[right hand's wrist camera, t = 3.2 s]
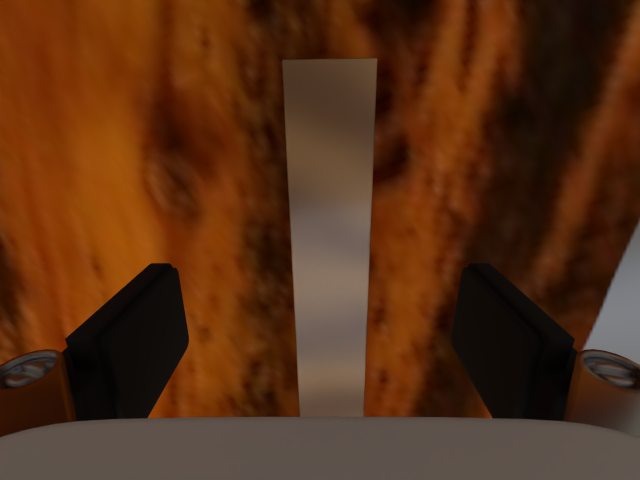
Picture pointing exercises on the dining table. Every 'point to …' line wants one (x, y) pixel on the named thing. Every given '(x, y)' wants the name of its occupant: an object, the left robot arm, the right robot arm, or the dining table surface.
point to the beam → (330, 226)
